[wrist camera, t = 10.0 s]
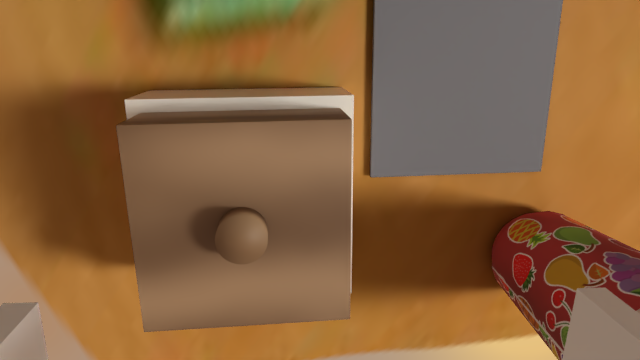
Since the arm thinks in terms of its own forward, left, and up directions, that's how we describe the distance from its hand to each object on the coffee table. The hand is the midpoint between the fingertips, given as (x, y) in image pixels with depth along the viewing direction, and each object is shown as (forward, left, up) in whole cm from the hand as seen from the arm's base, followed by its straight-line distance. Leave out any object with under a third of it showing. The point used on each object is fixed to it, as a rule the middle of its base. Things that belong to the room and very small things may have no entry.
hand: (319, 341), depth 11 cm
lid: (+2, -3, -15) cm, 15 cm away
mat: (-4, +11, -20) cm, 24 cm away
